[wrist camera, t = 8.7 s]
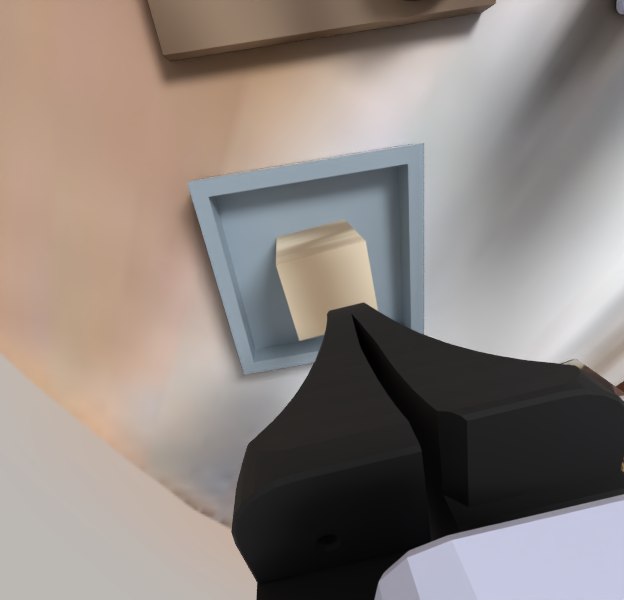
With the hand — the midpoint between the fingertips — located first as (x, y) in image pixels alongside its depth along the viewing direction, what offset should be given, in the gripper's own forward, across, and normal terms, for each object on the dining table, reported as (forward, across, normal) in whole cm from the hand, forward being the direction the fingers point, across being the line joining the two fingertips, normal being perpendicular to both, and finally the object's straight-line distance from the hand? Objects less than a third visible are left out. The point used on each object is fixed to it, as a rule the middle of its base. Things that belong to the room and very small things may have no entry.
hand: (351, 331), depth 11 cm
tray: (+9, 0, 0) cm, 9 cm away
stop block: (+9, 0, 0) cm, 9 cm away
